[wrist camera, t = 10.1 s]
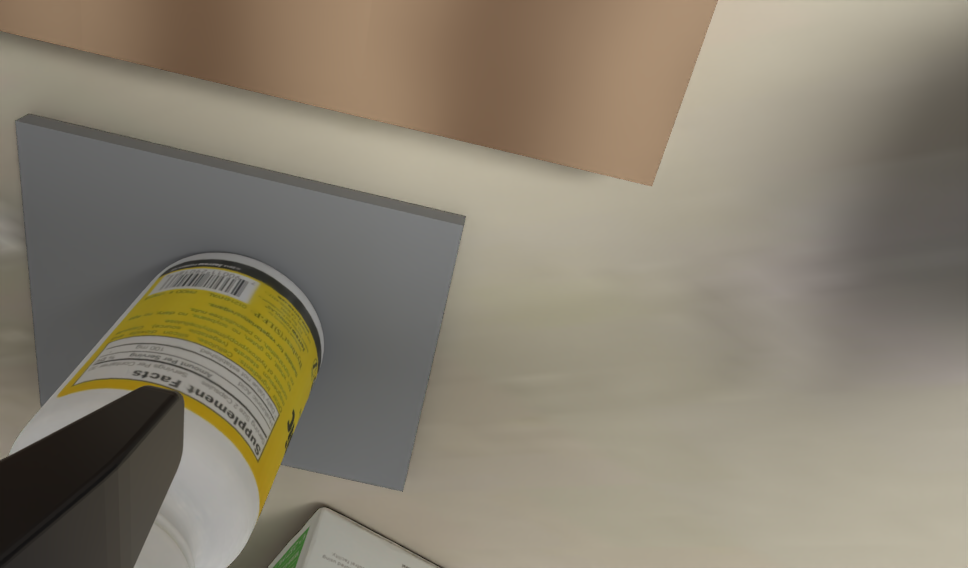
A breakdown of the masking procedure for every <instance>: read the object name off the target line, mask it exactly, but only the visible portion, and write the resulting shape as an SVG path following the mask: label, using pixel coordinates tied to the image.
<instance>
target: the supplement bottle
mask: <svg viewBox="0 0 968 568" xmlns="http://www.w3.org/2000/svg"><path fill="white" fill-rule="evenodd" d="M323 353H324V337H323V331H322V327H321V324H320V321H319V318H318V316H317V314H316V312H315V310H314V308H313V306H312V304H311V303H310V301H309V300H308V298H307V297H306V296H305V295H304V293H303V292H302V291H301V290H300V289H299V288H298V287H297V286H296V285H295V284H294V283H293V282H292V281H291V280H289V279H288V278H287V277H286V276H284V275H283V274H282V273H280V272H279V271H277V270H276V269H274V268H272V267H271V266H269V265H267V264H265V263H263V262H260V261H258V260H255V259H252V258H249V257H246V256H242V255H237V254H231V253H203V254H197V255H193V256H190V257H186V258H183V259H181V260H179V261H177V262H175V263H173V264H171V265H170V266H168V267H167V268H165V269H164V270H163V271H162V272H160V273H159V274H158V275H157V276H156V277H155V278H154V279H153V280H152V281H151V282H150V284H149V285H148V286H147V287H146V288H145V289H144V290H143V291H142V293H141V294H140V295H139V296H138V297H137V298H136V299H135V301H134V302H133V303H132V304H131V305H130V306H129V308H128V309H127V310H126V311H125V312H124V313H123V314H122V316H121V317H120V318H119V319H118V320H117V321H116V323H115V324H114V325H113V326H112V327H111V328H110V330H109V331H108V332H107V333H106V334H105V335H104V336H103V338H102V339H101V340H100V341H99V342H98V343H97V344H96V346H95V347H94V348H93V349H92V350H91V351H90V352H89V354H88V355H87V356H86V357H85V358H84V359H83V361H82V362H81V363H80V364H79V365H78V366H77V368H76V369H75V370H74V371H73V372H72V373H71V374H70V376H69V377H68V378H67V379H66V380H65V381H64V383H63V384H62V385H61V386H60V387H59V388H58V389H57V390H56V392H55V393H54V394H53V395H52V396H51V397H50V398H49V400H48V401H47V402H46V403H45V404H44V405H43V406H42V407H41V409H40V410H39V411H38V412H37V413H36V414H35V415H34V417H33V418H32V419H31V420H30V421H29V422H28V424H27V425H26V426H25V427H24V429H23V430H22V431H21V433H20V434H19V436H18V437H17V439H16V440H15V442H14V444H13V446H12V448H11V451H10V453H9V456H10V455H11V454H13V453H15V452H17V451H19V450H21V449H23V448H25V447H27V446H29V445H31V444H32V443H34V442H36V441H38V440H40V439H42V438H44V437H46V436H48V435H50V434H51V433H53V432H55V431H57V430H59V429H61V428H63V427H65V426H67V425H69V424H71V423H72V422H74V421H76V420H78V419H80V418H82V417H84V416H86V415H88V414H90V413H91V412H93V411H95V410H97V409H99V408H101V407H103V406H105V405H107V404H109V403H110V402H112V401H114V400H116V399H118V398H120V397H122V396H124V395H126V394H128V393H130V392H131V391H133V390H135V389H137V388H139V387H142V386H146V385H151V386H156V387H160V388H165V389H169V390H174V391H177V392H179V393H180V394H181V395H182V396H183V399H184V440H183V453H182V457H181V461H180V464H179V467H178V470H177V472H176V474H175V476H174V479H173V481H172V483H171V485H170V488H169V490H168V492H167V494H166V497H165V499H164V501H163V503H162V505H161V508H160V510H159V512H158V514H157V517H156V519H155V521H154V523H153V526H152V528H151V530H150V532H149V535H148V537H147V539H146V541H145V543H144V546H143V548H142V550H141V552H140V555H139V557H138V559H137V561H136V564H135V566H134V568H226V567H227V566H229V565H230V564H231V563H232V562H233V561H234V560H235V559H236V558H237V557H238V555H239V554H240V553H241V551H242V550H243V548H244V547H245V545H246V543H247V541H248V540H249V538H250V535H251V533H252V531H253V529H254V527H255V525H256V523H257V520H258V518H259V516H260V513H261V511H262V508H263V506H264V504H265V501H266V499H267V496H268V494H269V491H270V489H271V486H272V484H273V481H274V479H275V476H276V474H277V471H278V469H279V467H280V464H281V462H282V460H283V457H284V455H285V453H286V451H287V448H288V446H289V443H290V440H291V438H292V435H293V433H294V431H295V428H296V426H297V424H298V421H299V419H300V416H301V414H302V411H303V409H304V407H305V404H306V402H307V400H308V398H309V395H310V393H311V390H312V388H313V386H314V383H315V381H316V378H317V375H318V372H319V369H320V366H321V363H322V359H323Z"/></svg>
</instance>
